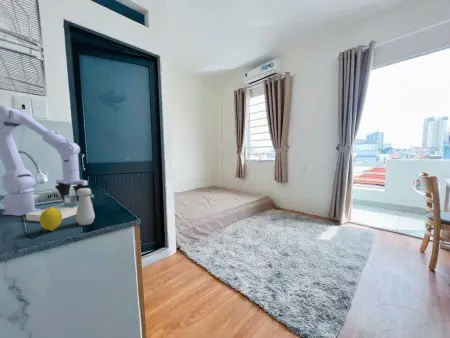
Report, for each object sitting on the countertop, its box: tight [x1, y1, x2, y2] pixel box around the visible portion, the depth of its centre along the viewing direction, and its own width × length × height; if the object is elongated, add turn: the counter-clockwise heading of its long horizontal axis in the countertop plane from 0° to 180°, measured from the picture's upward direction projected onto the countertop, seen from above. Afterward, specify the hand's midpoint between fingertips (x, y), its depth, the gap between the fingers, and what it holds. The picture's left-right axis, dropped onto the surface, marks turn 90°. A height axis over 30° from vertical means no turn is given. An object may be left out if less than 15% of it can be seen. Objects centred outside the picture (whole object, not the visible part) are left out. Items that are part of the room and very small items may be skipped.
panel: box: [25, 203, 94, 222], centre depth 83 cm, size 12×18×3 cm, turn 169°
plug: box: [63, 193, 78, 207], centre depth 88 cm, size 4×4×7 cm
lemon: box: [39, 206, 63, 232], centre depth 66 cm, size 6×6×8 cm
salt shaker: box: [75, 187, 96, 226], centre depth 72 cm, size 6×6×13 cm
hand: (73, 200), depth 88 cm, fingers open, 7 cm apart
